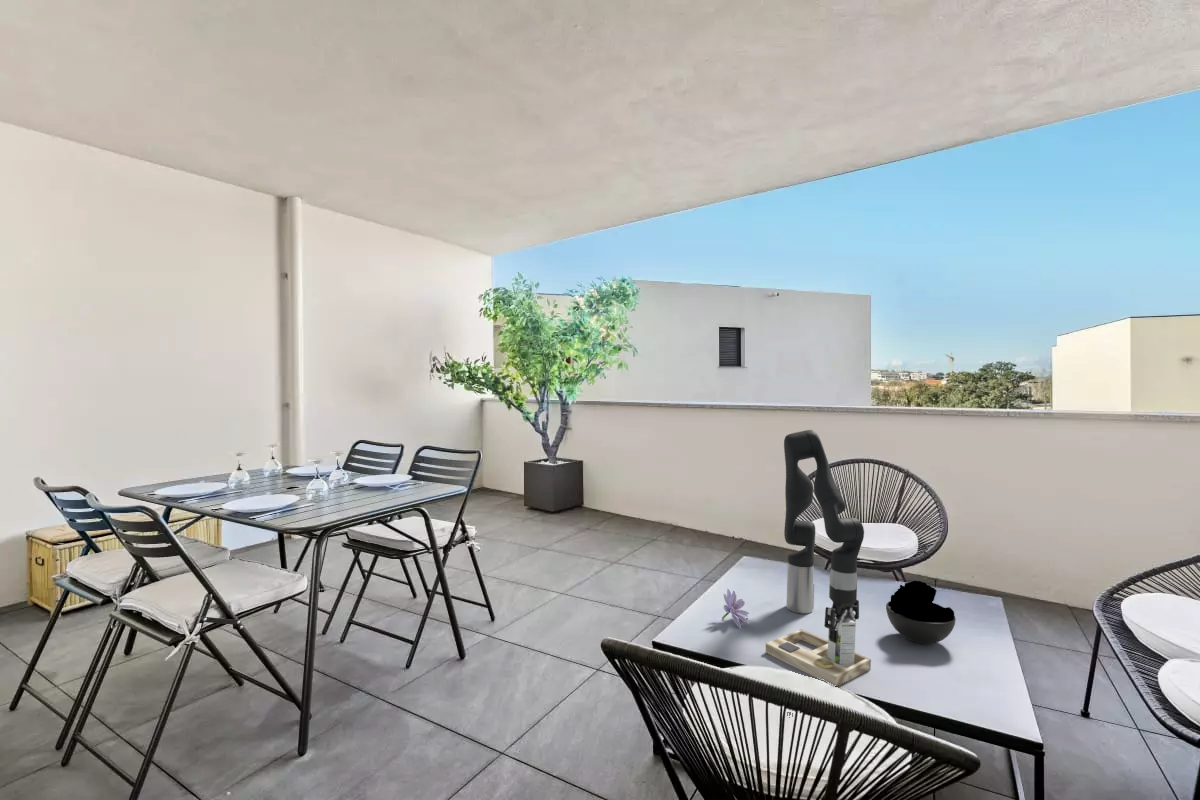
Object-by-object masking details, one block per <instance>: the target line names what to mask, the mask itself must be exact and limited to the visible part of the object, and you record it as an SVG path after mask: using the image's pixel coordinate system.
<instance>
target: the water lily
mask: <svg viewBox="0 0 1200 800" xmlns="http://www.w3.org/2000/svg"><path fill="white" fill-rule="evenodd" d="M723 599H724V601H725V604H724V605H723V606H722V609H723V610H724V611H725V612H726V613H725V614H723V616H722V617H721V618H722V620H724V619H725V618H726V617H727V616H728V615H729V614H731V617H732V619H733V621H734V624H735V625H736V626H737V628H739V627H741V628H742V626H741V622H740V621H742V622H744V623H745V624H748V625H750V622H749V621H748V619H749V615H750V613H749V612H748V611H746V610H744V609H742V610H741V608H742V607H744V606H745V603H746V602H745V601H744V599H743V598H739V599H737V594H736V592H735V590H733V591H732V593H731V590H730V589H729V588H727V590H726V594H725V593H723ZM746 618H748V619H746Z"/></svg>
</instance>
